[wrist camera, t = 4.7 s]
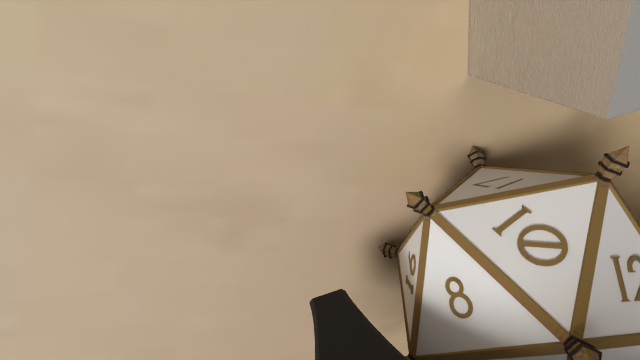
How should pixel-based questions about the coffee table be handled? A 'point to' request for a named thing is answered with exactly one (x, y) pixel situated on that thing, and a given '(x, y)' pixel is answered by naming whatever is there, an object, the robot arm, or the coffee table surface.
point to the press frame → (560, 51)
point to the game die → (523, 267)
